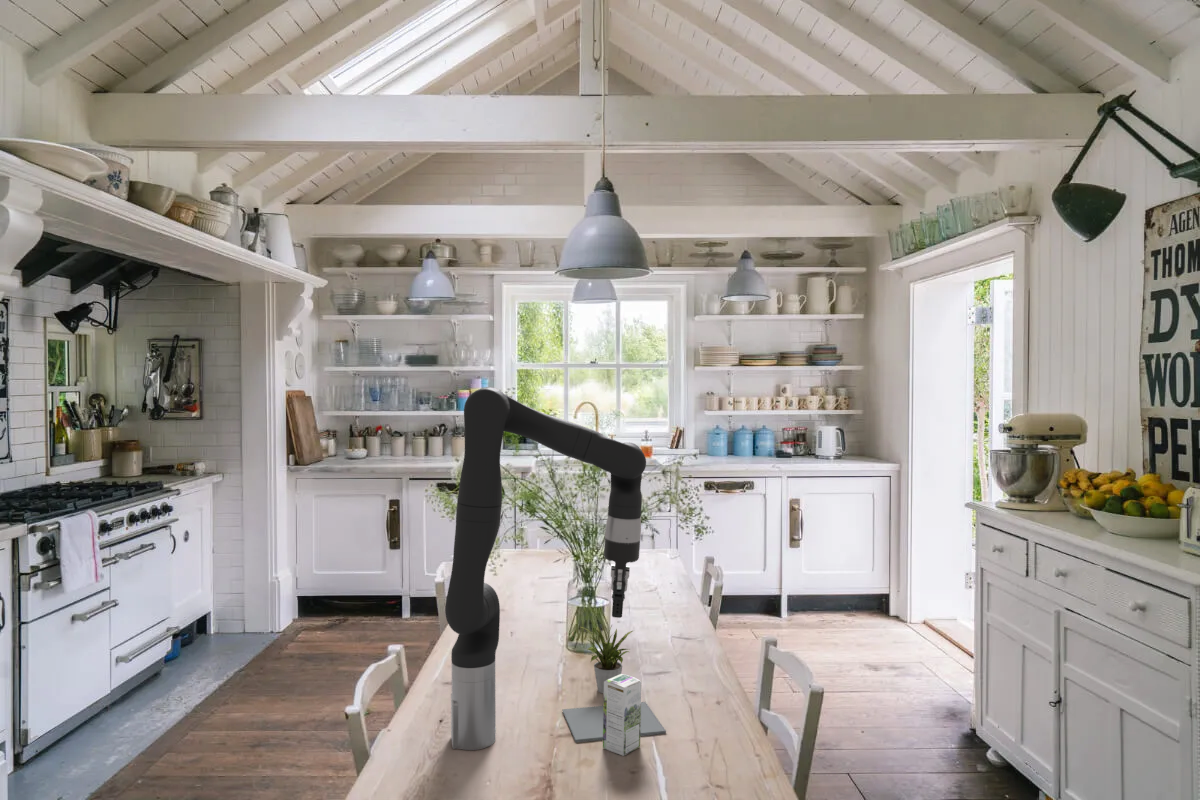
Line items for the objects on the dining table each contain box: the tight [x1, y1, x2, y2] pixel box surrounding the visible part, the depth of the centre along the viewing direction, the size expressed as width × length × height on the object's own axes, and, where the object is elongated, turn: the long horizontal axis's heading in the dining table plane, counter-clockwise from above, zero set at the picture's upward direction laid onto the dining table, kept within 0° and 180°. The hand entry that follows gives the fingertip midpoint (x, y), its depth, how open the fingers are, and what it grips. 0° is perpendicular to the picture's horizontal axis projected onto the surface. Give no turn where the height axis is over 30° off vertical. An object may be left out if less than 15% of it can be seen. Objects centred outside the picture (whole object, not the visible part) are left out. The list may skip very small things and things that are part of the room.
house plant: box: [580, 625, 635, 695], centre depth 198 cm, size 14×14×16 cm
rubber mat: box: [561, 701, 667, 743], centre depth 180 cm, size 20×16×1 cm
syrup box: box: [602, 673, 642, 757], centre depth 167 cm, size 6×6×14 cm
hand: (616, 616), depth 172 cm, fingers closed
